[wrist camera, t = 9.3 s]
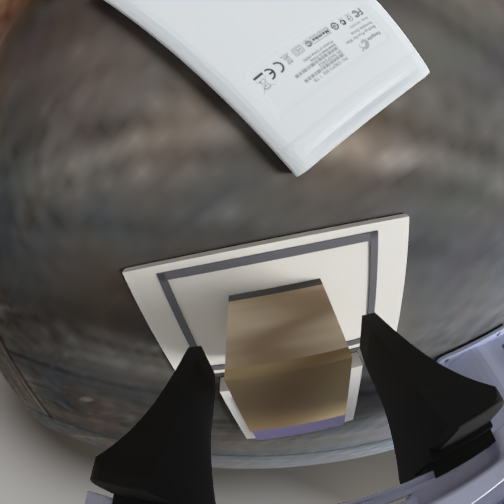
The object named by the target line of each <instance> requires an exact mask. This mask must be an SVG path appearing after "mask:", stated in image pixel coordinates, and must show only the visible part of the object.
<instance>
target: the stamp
mask: <svg viewBox="0 0 504 504" xmlns="http://www.w3.org/2000/svg"><path fill="white" fill-rule="evenodd" d="M351 365H352V355H351V353H350V350H349V347H348V345H347V342H346V340H345V337H344V335H343V332H342V330H341V327H340V325H339V322H338V320H337V317H336V315H335V312H334V310H333V308H332V305H331V303H330V300H329V298H328V296H327V293H326V291H325V289H324V286H323V284H322V282H321V279H320V278H319V279H314V280H310V281H305V282H299V283H294V284H289V285H284V286H279V287H273V288H268V289H263V290H257V291H251V292H246V293H240V294H234V295H229V301H228V318H227V336H226V355H225V375H224V381H225V383H226V385H227V387H228V389H229V391H230V393H231V395H232V397H233V399H234V401H235V403H236V405H237V407H238V409H239V411H240V413H241V415H242V417H243V419H244V421H245V423H246V425H247V427H248V428H249V430H250V431H258V430H266V429H274V428H281V427H288V426H294V425H299V424H305V423H310V422H315V421H320V420H324V419H329V418H333V417H337V416H341V415H345V413H346V406H347V399H348V392H349V384H350V375H351Z"/></svg>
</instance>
